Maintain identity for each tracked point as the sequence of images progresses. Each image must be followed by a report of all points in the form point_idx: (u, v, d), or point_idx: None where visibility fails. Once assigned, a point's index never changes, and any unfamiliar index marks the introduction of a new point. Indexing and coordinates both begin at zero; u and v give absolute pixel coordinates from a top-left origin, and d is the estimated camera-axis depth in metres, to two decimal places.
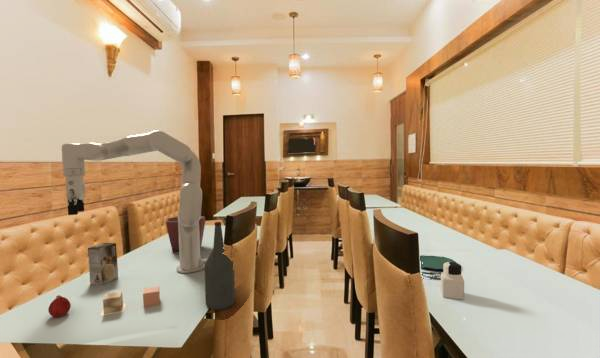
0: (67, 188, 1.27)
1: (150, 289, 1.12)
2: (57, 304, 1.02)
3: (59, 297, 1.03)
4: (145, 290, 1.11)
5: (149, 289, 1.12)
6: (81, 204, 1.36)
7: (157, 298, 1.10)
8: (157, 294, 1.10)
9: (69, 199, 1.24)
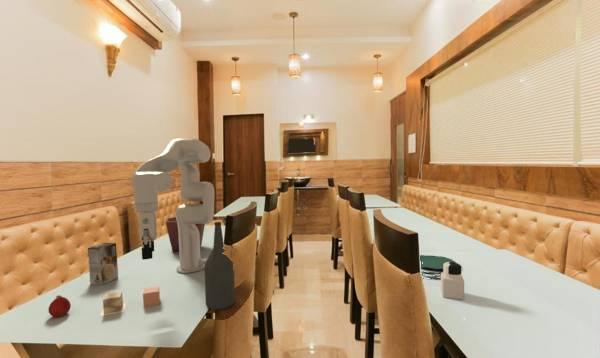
0: (141, 227, 1.06)
1: (150, 289, 1.12)
2: (57, 304, 1.02)
3: (59, 297, 1.03)
4: (145, 290, 1.11)
5: (149, 289, 1.12)
6: (151, 243, 1.16)
7: (157, 298, 1.10)
8: (157, 294, 1.10)
9: (145, 241, 1.03)
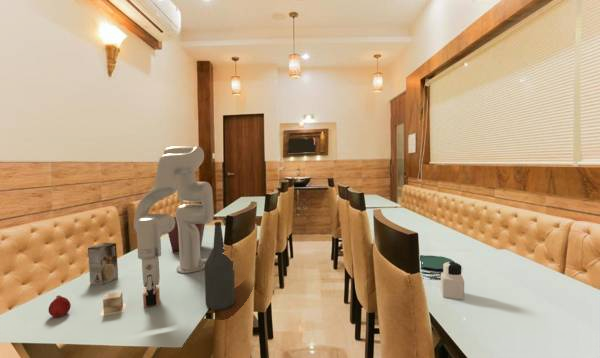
0: (144, 274, 1.06)
1: None
2: (57, 304, 1.02)
3: (59, 297, 1.03)
4: (145, 290, 1.11)
5: None
6: None
7: (157, 298, 1.10)
8: (157, 294, 1.10)
9: (149, 291, 1.06)
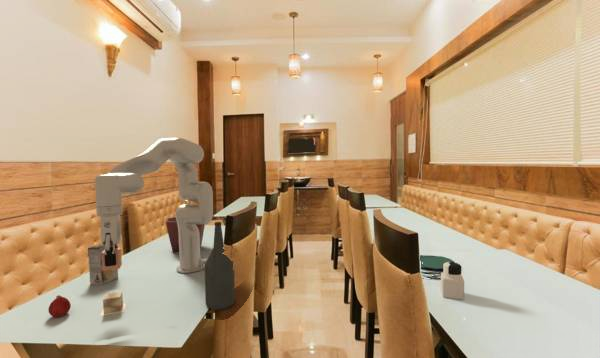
0: (102, 231, 1.01)
1: None
2: (57, 304, 1.02)
3: (59, 297, 1.03)
4: None
5: None
6: None
7: (117, 258, 1.05)
8: (117, 254, 1.05)
9: (107, 249, 1.01)
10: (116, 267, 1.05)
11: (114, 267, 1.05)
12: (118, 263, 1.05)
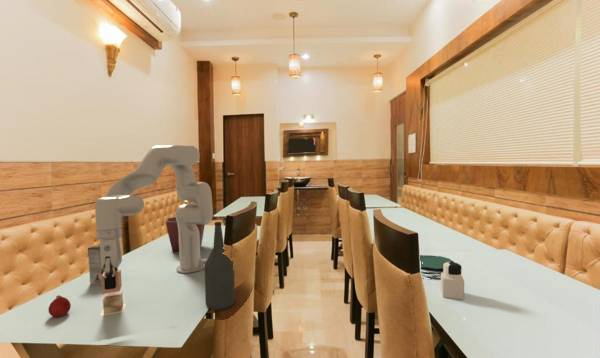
0: (102, 255, 1.01)
1: None
2: (57, 304, 1.02)
3: (59, 297, 1.03)
4: None
5: None
6: None
7: (117, 281, 1.05)
8: (117, 277, 1.05)
9: (107, 273, 1.01)
10: (116, 290, 1.05)
11: (114, 290, 1.05)
12: (118, 286, 1.06)
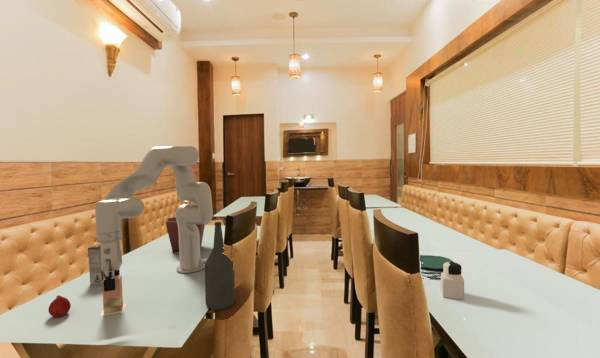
0: (103, 258, 1.01)
1: None
2: (57, 304, 1.02)
3: (59, 297, 1.03)
4: None
5: None
6: (116, 272, 1.11)
7: (118, 287, 1.06)
8: (118, 282, 1.06)
9: (106, 273, 0.99)
10: (117, 296, 1.06)
11: (115, 295, 1.05)
12: (119, 291, 1.06)
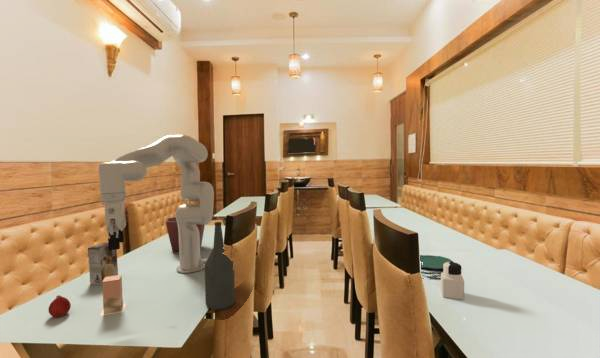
0: (107, 218, 1.04)
1: (111, 277, 1.07)
2: (57, 304, 1.02)
3: (59, 297, 1.03)
4: (105, 278, 1.07)
5: (110, 277, 1.07)
6: (120, 234, 1.14)
7: (118, 287, 1.06)
8: (118, 282, 1.06)
9: (111, 231, 1.01)
10: (117, 296, 1.06)
11: (115, 295, 1.05)
12: (119, 291, 1.06)
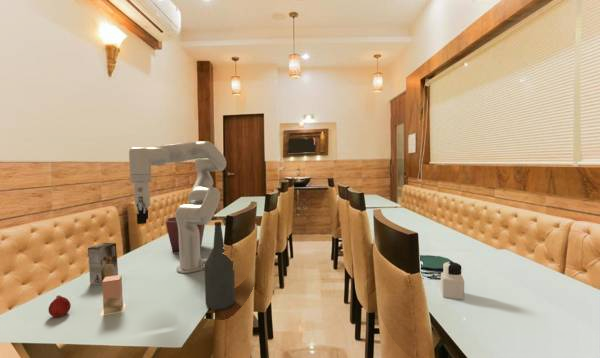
0: (136, 195, 1.19)
1: (111, 277, 1.07)
2: (57, 304, 1.02)
3: (59, 297, 1.03)
4: (105, 278, 1.07)
5: (110, 277, 1.07)
6: (145, 212, 1.29)
7: (118, 287, 1.06)
8: (118, 282, 1.06)
9: (140, 207, 1.16)
10: (117, 296, 1.06)
11: (115, 295, 1.05)
12: (119, 291, 1.06)
